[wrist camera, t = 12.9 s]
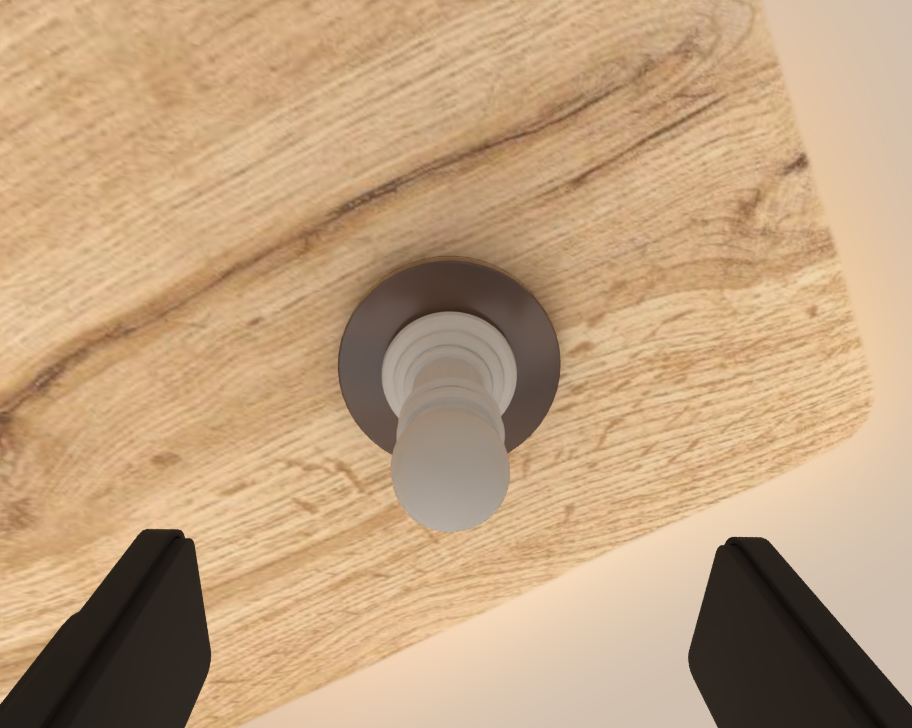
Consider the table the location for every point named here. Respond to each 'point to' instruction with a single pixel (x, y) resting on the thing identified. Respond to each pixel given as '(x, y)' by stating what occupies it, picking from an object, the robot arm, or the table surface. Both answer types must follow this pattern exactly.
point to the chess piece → (449, 418)
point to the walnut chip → (448, 291)
